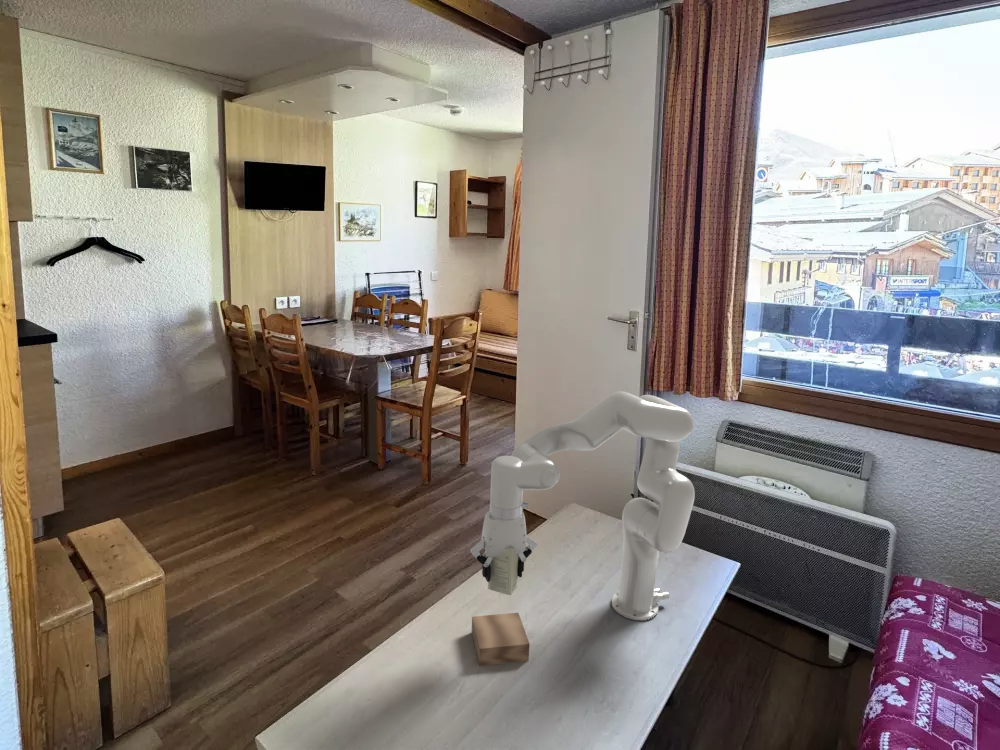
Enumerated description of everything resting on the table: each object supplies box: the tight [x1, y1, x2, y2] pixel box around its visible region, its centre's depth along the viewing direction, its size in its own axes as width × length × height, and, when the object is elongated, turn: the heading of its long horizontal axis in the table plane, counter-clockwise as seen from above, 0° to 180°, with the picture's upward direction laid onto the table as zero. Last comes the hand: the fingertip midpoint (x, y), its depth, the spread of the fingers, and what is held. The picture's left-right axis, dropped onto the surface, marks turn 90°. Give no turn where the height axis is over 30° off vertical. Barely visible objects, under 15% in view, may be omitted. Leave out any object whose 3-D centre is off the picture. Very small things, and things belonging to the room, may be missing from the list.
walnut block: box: [471, 612, 530, 667], centre depth 151 cm, size 12×12×5 cm
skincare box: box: [487, 547, 519, 596], centre depth 146 cm, size 6×4×12 cm
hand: (502, 575), depth 147 cm, fingers closed on skincare box, 7 cm apart
